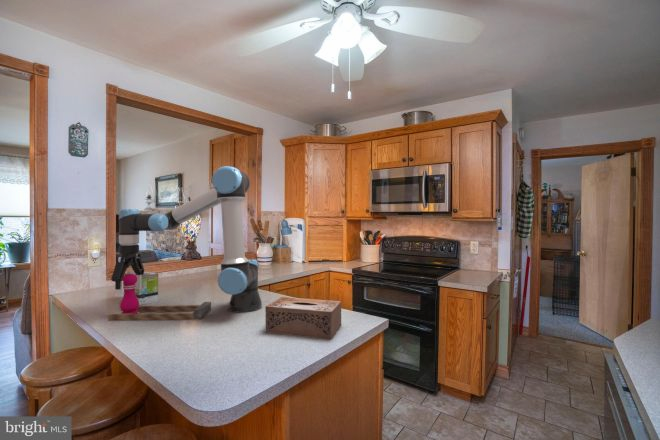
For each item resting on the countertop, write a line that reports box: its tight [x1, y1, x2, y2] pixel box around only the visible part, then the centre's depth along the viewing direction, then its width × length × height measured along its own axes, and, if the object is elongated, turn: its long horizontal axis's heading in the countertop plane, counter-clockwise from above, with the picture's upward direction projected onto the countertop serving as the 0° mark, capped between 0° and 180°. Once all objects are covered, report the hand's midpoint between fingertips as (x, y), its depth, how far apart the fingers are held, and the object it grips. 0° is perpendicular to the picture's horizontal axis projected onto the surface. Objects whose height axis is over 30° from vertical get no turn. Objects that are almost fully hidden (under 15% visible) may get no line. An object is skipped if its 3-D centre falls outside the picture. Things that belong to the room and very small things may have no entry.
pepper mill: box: [119, 269, 140, 314], centre depth 138 cm, size 7×7×20 cm
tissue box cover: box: [265, 296, 342, 340], centre depth 122 cm, size 26×14×10 cm, turn 74°
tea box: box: [124, 270, 159, 306], centre depth 162 cm, size 15×10×15 cm, turn 58°
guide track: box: [107, 301, 212, 322], centre depth 139 cm, size 38×13×4 cm, turn 92°
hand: (129, 292), depth 138 cm, fingers open, 13 cm apart
